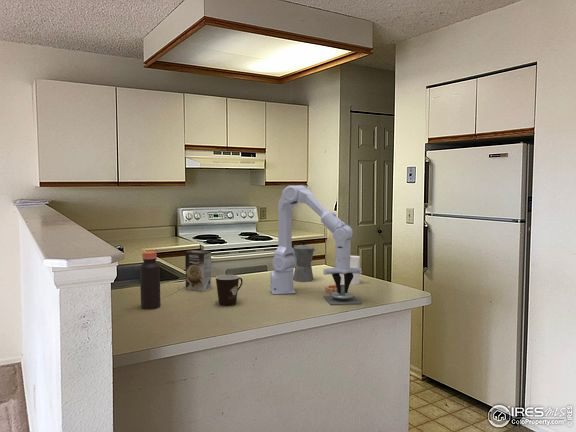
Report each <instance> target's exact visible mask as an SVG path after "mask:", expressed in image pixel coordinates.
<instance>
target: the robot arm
mask: <svg viewBox="0 0 576 432" xmlns="http://www.w3.org/2000/svg"><path fill="white" fill-rule="evenodd" d="M281 191H282V192H281V197H280V198H279V201H278V205H277V208H278V209H277V211H278V212H277V214H278V215H277V219H278V221H277V225H278V226H277V229H278V230H277V235H278V236H277V241H278V243H277V245H278V246H277V248H276V250H275V251H274V256H273V259H272V263H271V264H272V266H273V268H274V270H271V271H270V277H269V278H270V280H269V281H270V284H269V290H270V292H271V294H272V295H281V294H282V295H283V294H285V295H286V294H296V291H295V289H294V279H293V278H294V270H295V268H294V267H295V266H296V257H295V254H294V249H293V248H292V243H293V241H292V240H293V238H292V235H293V233H292V232H293V231H292V229H293V228H292V223H293V218H292V217H293V216H292V212H293V208H294V207H295V206H296V205H297V204H298V203H300V204H306V205H307V206H308V207H309V208H310V209H312V211H314V212H315V213H316V214H317V216H319V217H320V223H322V224H323V225H324V226H325V228H326V229H328V230H329V231H330V233H331V234H332V237H333V239H334V241H335V242H334V243H335V244H334V245H335V250H334V251H335V257H334V267H330V268H329V267H328V268H323V270H322V271H323V273H322V274H323V275H324V276H327V275H331V276H332V279H333V281H334V285H336V288H337V292H338V293H340V285H341V277H340V275H339V274H344V284H343V285H345V293H348V292H349V288H350V286H351V285H350V283H351V281H352V279H353V274H358V273H359V274H360V275H361V274H363V271H362V270H363V269H362V268H361V267H360V268H350V256H351V249H352V248H351V247H352V246H351V245H352V244H351V242H352V241H351V239H352V237H353V236H354V230H353V228H352V227H351V226H350V225H349V224H346V223H345V222H344V221H342V220H341V219H340V218H339V217H338V216H337V215H338V214H337V213H336V212H333V211H329V210H327V208H325V207H324V206H323V205H322V204H321V203H320V201H319V200H318V199H317V197H315V195H313V194H312V191H311V190H310V189H308V188H307V187H306V185H304V184H300V185H292V184H291V185H287V186H286V187H284V189H282V190H281Z"/></svg>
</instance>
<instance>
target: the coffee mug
mask: <svg viewBox="0 0 576 432" xmlns="http://www.w3.org/2000/svg"><path fill="white" fill-rule="evenodd" d="M215 281H216V282H215V283H216V290H217V298H218V299H217V300H218V305H219V306H223V307H232V306H235V305H237V300H238V293H239V292H238V291H239V290H240V289H241V287H242V285H243V278H242V277H240V276H239V275H236V274H222V275H217V276H215ZM239 281H240V282H239ZM239 283H240V285H239Z"/></svg>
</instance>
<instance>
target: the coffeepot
mask: <svg viewBox="0 0 576 432" xmlns="http://www.w3.org/2000/svg"><path fill="white" fill-rule="evenodd" d="M292 248H293V249H294V254H295V257H296V264H295V266H294V267H295V268H294V271H293V281H295V282H299V283H307V282H313V281H314V273H313V267H312V261H313V256H314V251H316V249H315V247H313V246H310V245H307V244H306V241H305V240H301V244H300V245H298V244H292Z"/></svg>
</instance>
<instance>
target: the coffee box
mask: <svg viewBox="0 0 576 432" xmlns="http://www.w3.org/2000/svg"><path fill="white" fill-rule="evenodd" d="M184 253H185V254H184V255H185V256H184V257H185V258H184V259H185V260H184V261H185V263H184V264H185V265H184V266H185V290H187V291H193V292H194V291H195V292H200V293H201V292H204V293H205V292H206V291H209V290H211V289H212V251H211V250H199V249H191V250H187V251H185V252H184Z"/></svg>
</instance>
